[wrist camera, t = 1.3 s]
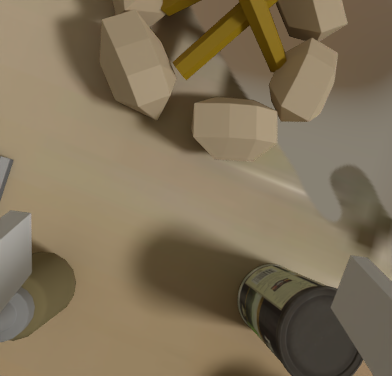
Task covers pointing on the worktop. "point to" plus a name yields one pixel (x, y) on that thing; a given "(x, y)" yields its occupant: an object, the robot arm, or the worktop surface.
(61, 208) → the worktop surface
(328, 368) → the coffee can
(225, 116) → the campfire
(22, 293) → the squeeze bottle
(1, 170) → the track
